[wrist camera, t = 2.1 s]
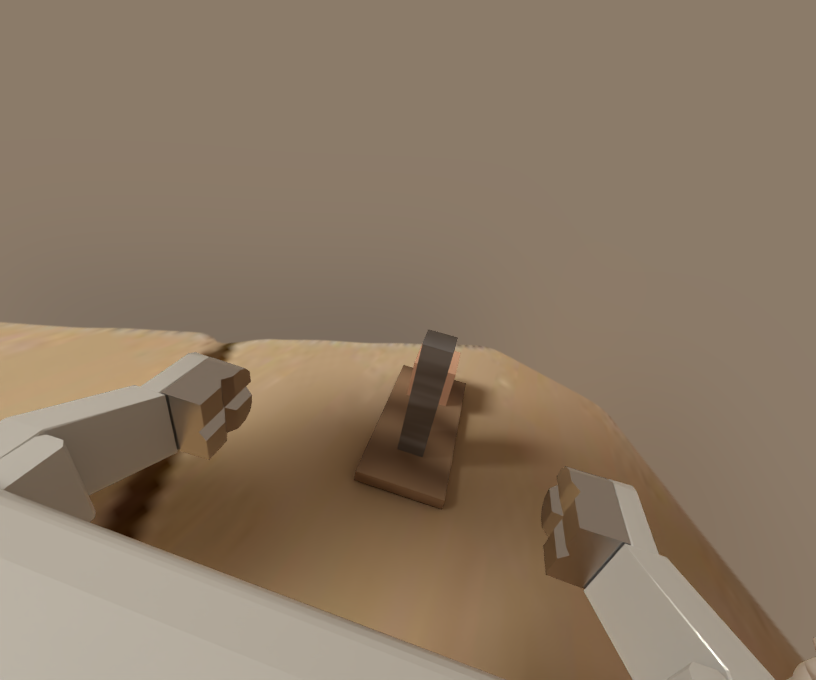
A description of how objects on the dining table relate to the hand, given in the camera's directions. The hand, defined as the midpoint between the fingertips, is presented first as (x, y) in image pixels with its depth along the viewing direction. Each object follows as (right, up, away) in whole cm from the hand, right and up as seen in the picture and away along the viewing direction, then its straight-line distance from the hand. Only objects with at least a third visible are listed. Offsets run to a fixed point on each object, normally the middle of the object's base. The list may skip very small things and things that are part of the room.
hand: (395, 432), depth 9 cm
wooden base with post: (+1, -7, +30) cm, 31 cm away
